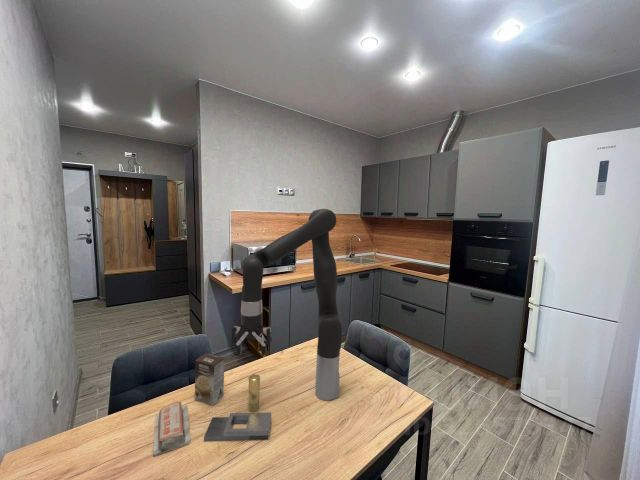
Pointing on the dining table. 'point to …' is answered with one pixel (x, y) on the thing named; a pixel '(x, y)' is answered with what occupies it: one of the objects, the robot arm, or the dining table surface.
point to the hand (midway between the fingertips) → (251, 354)
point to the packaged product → (171, 428)
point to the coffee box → (209, 378)
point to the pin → (254, 393)
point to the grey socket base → (254, 431)
